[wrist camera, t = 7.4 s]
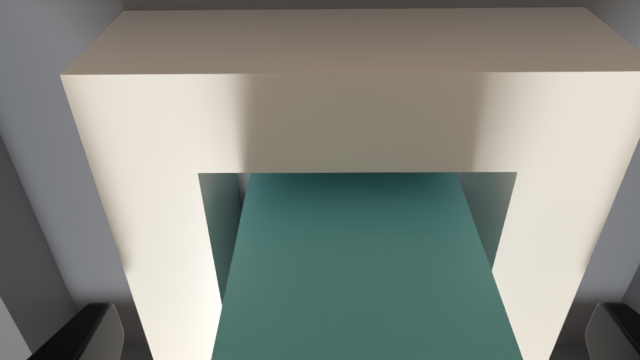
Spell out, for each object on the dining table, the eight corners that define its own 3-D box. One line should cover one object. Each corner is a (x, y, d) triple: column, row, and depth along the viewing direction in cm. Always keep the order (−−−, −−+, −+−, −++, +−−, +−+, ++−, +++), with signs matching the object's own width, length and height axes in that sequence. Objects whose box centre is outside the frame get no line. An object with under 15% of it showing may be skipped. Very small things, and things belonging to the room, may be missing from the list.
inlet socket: (193, 312, 15) (169, 407, 13) (123, 10, 10) (59, 74, 8) (496, 312, 15) (528, 408, 13) (584, 7, 10) (667, 71, 8)
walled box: (73, 352, 17) (39, 427, 15) (-230, -291, 8) (-431, -326, 6) (616, 353, 17) (657, 430, 15) (967, -311, 8) (1212, -355, 6)
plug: (272, 252, 14) (226, 640, 7) (260, 123, 12) (177, 524, 5) (421, 252, 14) (504, 642, 7) (438, 122, 12) (583, 525, 5)
